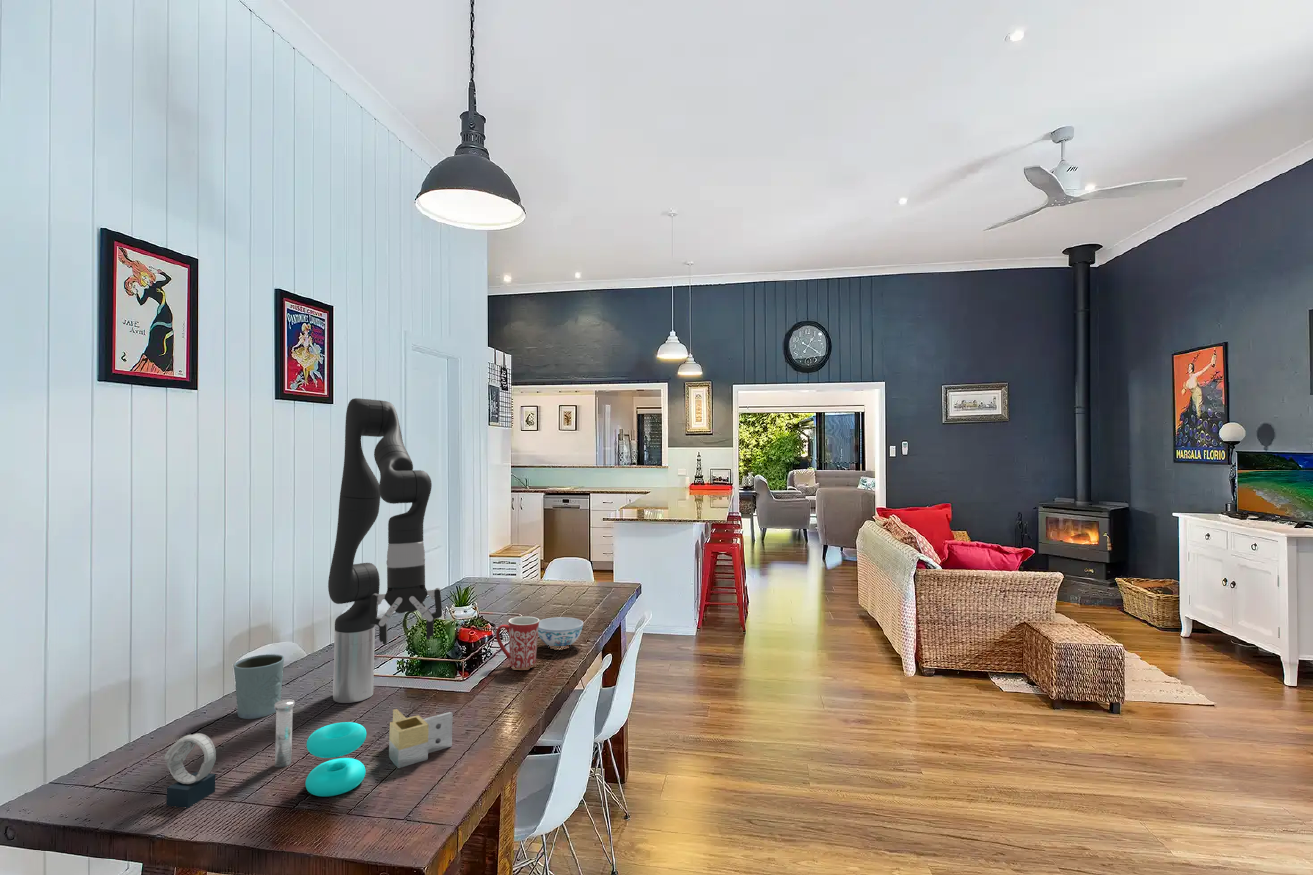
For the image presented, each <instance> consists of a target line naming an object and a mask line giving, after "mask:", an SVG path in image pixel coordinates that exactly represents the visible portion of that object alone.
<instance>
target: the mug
mask: <svg viewBox="0 0 1313 875" xmlns="http://www.w3.org/2000/svg"><path fill="white" fill-rule="evenodd" d="M540 620H541V619H539V618H537V617H535V616H515V617H511V618H510V619H508V622H507V623H508V624H500V626H498V627H497V629H496V632H495V636H496V637H495V638H496V642H497V644H498V646H499V648H500V649H501V651H502V653H503V654H504V655H505V657H506V658H507V659H508V660H509V667H510V666H511V667H515V668H522V667H528V666H531V665H533V664H534V663H535V662H536V661H537V649H538V638H539V635H538V626H539V621H540ZM501 629H505V630H506V631H507V633H508V640H509V641H508V643H509V646H508V648H509V650H508V649H507V648H506V647H505V645H504V643H503V642H502V640H501V636H500V634H501ZM535 664H536V663H535Z"/></svg>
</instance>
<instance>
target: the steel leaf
mask: <svg viewBox="0 0 1313 875" xmlns="http://www.w3.org/2000/svg"><path fill="white" fill-rule="evenodd" d="M422 719H423V720H424V721H425V722H426V723H428V724H429V727H428V742H426V743H423V744H419V745H416V746H412V747H409V748H405V749H402V750H398V749H397V748H396V747H395V746H394V745H393V743H392V742H391V741H390V740H389V739H388V745H389V746H388V758H389V759H390V760H391V761H392V763H393V765H395V766H396V768H397V769H401V768H404V767H407V766H411V765H414V764H417V763H420V762H423V761H427V760H429V759H428V758H429V754H431V753H434V752H437V751H438V752H439V751H440V750H444V749H447V748H450V747H453V711H449V712H448V711H447V712H445V713H444V712H443V713H440V714H437V715H433V716H429V717H425V718H422Z"/></svg>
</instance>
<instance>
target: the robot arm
mask: <svg viewBox="0 0 1313 875" xmlns="http://www.w3.org/2000/svg"><path fill="white" fill-rule="evenodd" d="M344 428H345V429H344V436H345V437H344V458H343V469H342V475H341V476H342V477H341V484H340V492H339V500H338V513H337V514H338V515H337V517H338V518H337V526H336V536H335V544H334V549H333V554H332V558H331V563H330V568H329V575H328V583H327V584H328V585H327V587H328V588H327V589H328V596H329V598H330V600H331V601H332V602H333V603H334V604H337V605H340V604H341V605H342V604H349V603H353V604H352V605H351V606H350V607H349V609H347V610H346V611H345V612H343V613H341V614H340V615H339V616H337V617H336V618H335V620H334V640H333V641H334V645H333V646H334V647H333V649H334V650H333V677H332V678H333V679H332V680H333V683H332V700H333V702H336V703H340V704H350V703H357V702H362V701H365V700H367V699H369V698H371V697H372V696H373V695H374V681H375V680H374V677H375V644H376V643H375V639H376V638H375V636H376V626H378V627H379V628H378V629H379V630H378V632H379V633H378V634H379V635H378V636H379V637H378V638H379V641H380V643H381V642H382V645H388V624H387V622H388V621H389V619H390V618H391V617H392V615H394V613H397V614H403V613H414V612H416V611H418V613H420V614H421V615H422V616H423V618H425V619H426V622H425V623H426V625H425V626H426V633H425V634H426V636H425V637H426V640H427V641H428V640H430V639H431V637H433V635H434V631H435V630H434V629H435V628H434V621H435V620H436V619H439V618H442V617H443V616H442V615H443V607H442V595H441V589H440V587H436V588H435V589H429V590H427V588H426V553H425V552H426V551H425V550H426V549H425V546H424V522H425V515H426V510H427V506H428V502H429V499H430V496H431V492H432V486H433V485H432V479H431V476H430V475H429V474H428V472H426V471H424V470H421V469H419V470H416V469H415V470H414V464H413V461H412V459H411V456H410V455H409V453H408V451H407V449H406V446H405V444H404V442H403V440H404V439H403V434H402V431H401V424H400V421H399V418H398V413H397V409H396V408H395V406H394V404H392V402H389V401H386V400H381V399H380V400H379V399H378V400H377V399H371V398H370V399H369V398H357V397H356V398H352V399H351V400H350V401H349V402H348V404H347V408H346V412H345V426H344ZM362 437H373V438H374V437H376V438H380V440H379V441H378V442H377V444H375V448H374V451H373V456H374V457H373V458H374V462H375V463H376V465H377V468H378V470H379V471H378V472H379V473H380V478H379V481H378V479H377V477H376V475H375V474H374V472H373V471H372V469H371V467H370V465H369V463H368V461H367V460H366V457H365V454H364V453H363V452H364V451H363V446H362ZM381 499H382V500H383V502H384V503H385V502H386V503H387V504H393V505H394V504H411V506H410V508H409V509H408V510H407V511H406V512H403V513H399V514H396V515H393V516H391V517H390V518H389V519H388V522H387V526H388V527H387V530H388V532H387V536H388V537H387V541H388V542H387V544H388V546H387V554H386V579H387V580H386V584H387V585H386V588H387V589H386V593H380V587H381V586H380V585H381V584H380V582H381V581H380V580H381V579H380V574H379V570H378V568H377V567H376V565H375V564H373V562H372V563H371V562H361V563H354V562H355V557H356V553H357V550H358V548H359V546H360V545H361V542H363V540H364V538H365V537H366V535H367V534H368V532H369V531H370V530H371V529H372V527H373V525H374V523H375V522H376V521H377V518H378V516H379V512H380V504H381ZM428 596H429V597H430V599H431V600H432V601H434V607H435V611H434V612H431V610H429V609H428V606H426V604H424V603H425V602H424V601H425V600H426V599H427V597H428ZM383 601H386V603H387V604H388V605H389V607H388V609H387V610H386V612H385V613H384V615H383V616H382V617H378V612H379V611H378V610H379V605H381V604H382V602H383Z"/></svg>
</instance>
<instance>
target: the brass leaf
mask: <svg viewBox="0 0 1313 875" xmlns="http://www.w3.org/2000/svg"><path fill="white" fill-rule="evenodd" d="M423 719H424V718H422V716H420V715H419V714H417V715H413V716H410V717H406V716H405V715H404V714H403V713H402V712H401V711H399V709H397V708H395V709H392V721H390V722H389V735H388V736H389V737H388V741H389V740H390V741H391V742H392V743H393V745H394V746H395V747H396V748H397V749H398V750H402V749H405V748H409V747H412V746H416V745H419V744H423V743H426V742H428V727H429V724H428V723H426V722H425V721H424V720H423Z"/></svg>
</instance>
